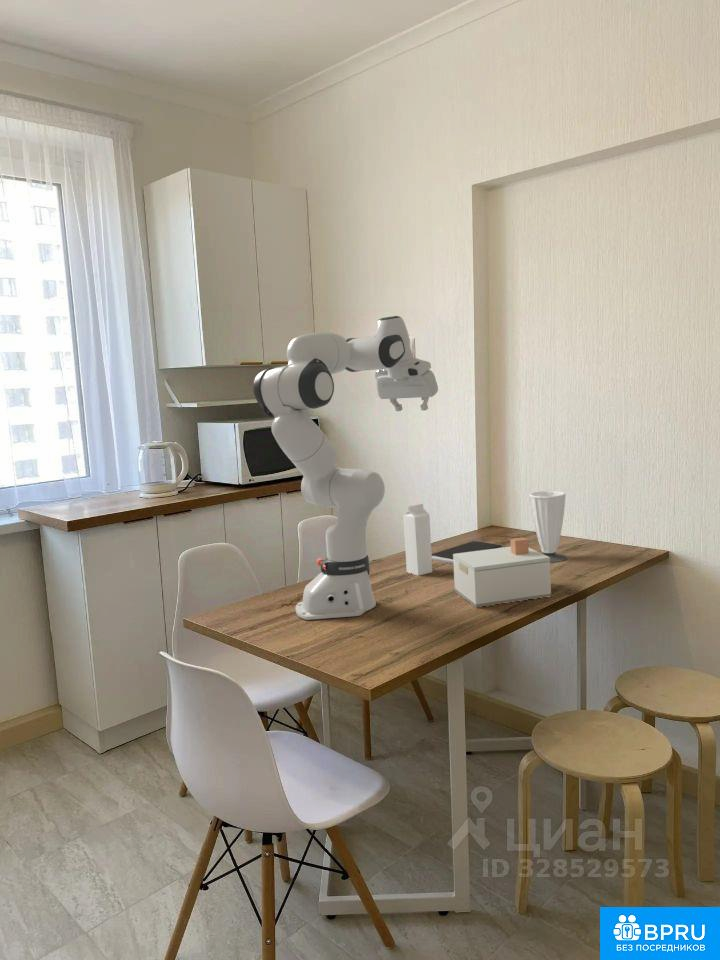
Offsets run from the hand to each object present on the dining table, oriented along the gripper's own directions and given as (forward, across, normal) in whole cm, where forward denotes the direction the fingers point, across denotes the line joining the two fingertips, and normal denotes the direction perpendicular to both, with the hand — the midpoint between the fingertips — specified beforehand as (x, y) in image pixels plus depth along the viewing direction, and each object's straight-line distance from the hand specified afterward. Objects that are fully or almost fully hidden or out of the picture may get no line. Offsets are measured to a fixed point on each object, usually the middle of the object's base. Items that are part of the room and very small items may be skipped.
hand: (411, 410), depth 222 cm
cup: (+59, +30, +12) cm, 68 cm away
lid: (+36, +33, -23) cm, 54 cm away
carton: (+46, +33, -26) cm, 63 cm away
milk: (+49, 0, -17) cm, 52 cm away
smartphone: (+58, +2, +8) cm, 59 cm away
